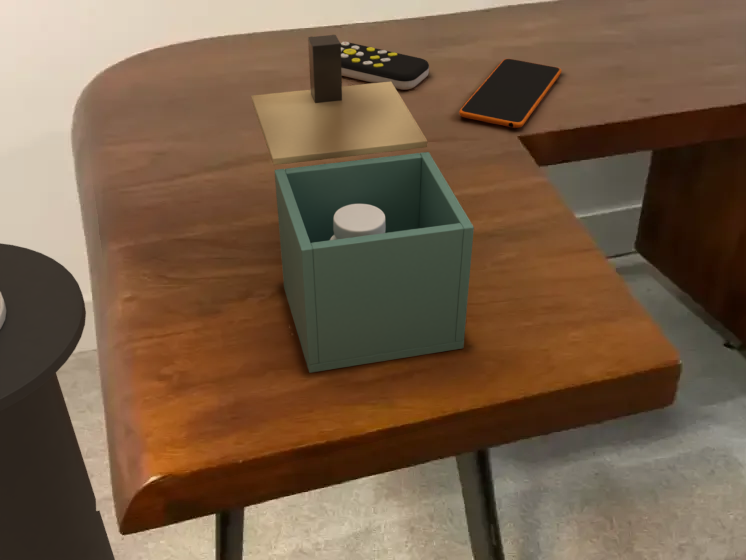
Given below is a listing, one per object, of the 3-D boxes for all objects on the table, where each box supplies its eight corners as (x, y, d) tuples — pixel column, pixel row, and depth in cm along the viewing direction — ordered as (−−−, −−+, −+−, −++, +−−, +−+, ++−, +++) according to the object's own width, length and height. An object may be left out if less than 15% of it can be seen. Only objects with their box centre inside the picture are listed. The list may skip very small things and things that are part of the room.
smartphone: (562, 73, 112) (563, 66, 111) (520, 131, 100) (521, 124, 100) (503, 62, 114) (503, 55, 113) (456, 118, 103) (456, 110, 102)
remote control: (410, 93, 107) (410, 77, 106) (316, 71, 112) (316, 55, 110) (433, 74, 111) (433, 58, 110) (342, 53, 116) (341, 37, 114)
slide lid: (273, 165, 72) (267, 98, 68) (251, 102, 80) (245, 38, 76) (427, 147, 74) (430, 81, 70) (391, 87, 82) (392, 25, 78)
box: (309, 373, 71) (301, 250, 63) (283, 287, 79) (274, 169, 72) (463, 348, 73) (474, 227, 66) (423, 267, 82) (428, 151, 74)
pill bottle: (349, 284, 78) (347, 192, 72) (403, 302, 77) (406, 209, 70) (317, 317, 75) (312, 223, 69) (373, 337, 73) (373, 242, 67)
